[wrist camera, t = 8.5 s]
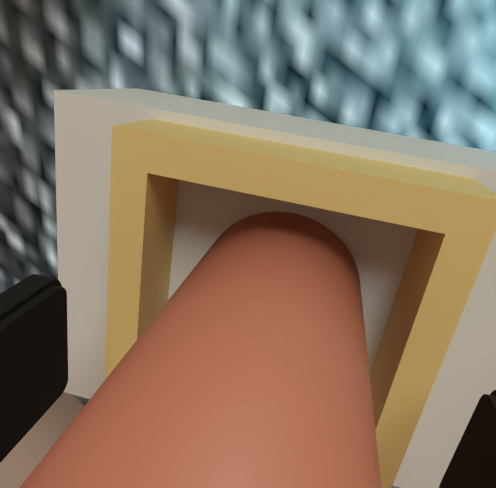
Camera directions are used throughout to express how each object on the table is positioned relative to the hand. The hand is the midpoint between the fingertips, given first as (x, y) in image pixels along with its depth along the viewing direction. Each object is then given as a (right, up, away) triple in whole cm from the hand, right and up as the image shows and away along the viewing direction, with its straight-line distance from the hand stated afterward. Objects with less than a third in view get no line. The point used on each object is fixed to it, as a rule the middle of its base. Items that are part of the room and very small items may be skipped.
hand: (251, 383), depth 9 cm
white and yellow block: (+2, +3, +10) cm, 11 cm away
